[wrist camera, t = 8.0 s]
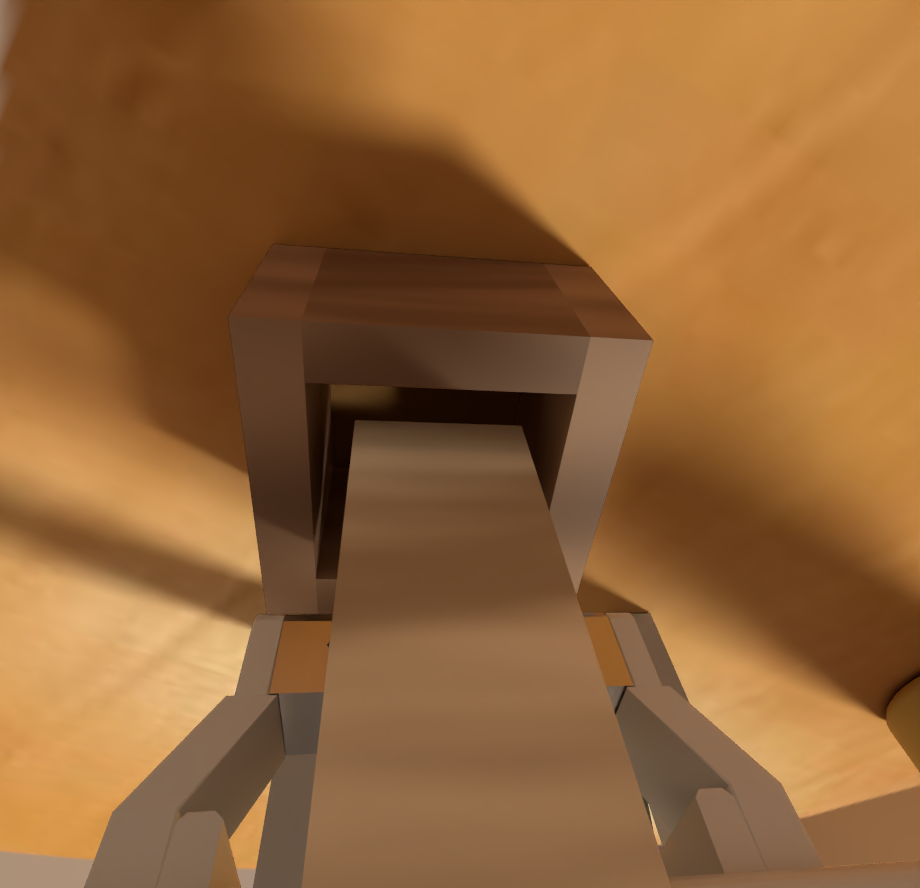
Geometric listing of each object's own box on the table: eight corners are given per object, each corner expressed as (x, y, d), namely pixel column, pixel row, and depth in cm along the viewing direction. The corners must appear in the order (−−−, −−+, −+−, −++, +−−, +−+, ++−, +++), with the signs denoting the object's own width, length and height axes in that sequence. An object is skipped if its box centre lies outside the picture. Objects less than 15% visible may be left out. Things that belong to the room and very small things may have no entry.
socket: (272, 243, 16) (227, 316, 12) (591, 266, 17) (653, 340, 13) (292, 499, 21) (266, 614, 16) (538, 503, 22) (571, 612, 18)
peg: (355, 419, 14) (248, 1358, 4) (521, 425, 14) (796, 1273, 4) (355, 545, 16) (288, 1348, 6) (499, 545, 17) (651, 1290, 7)
